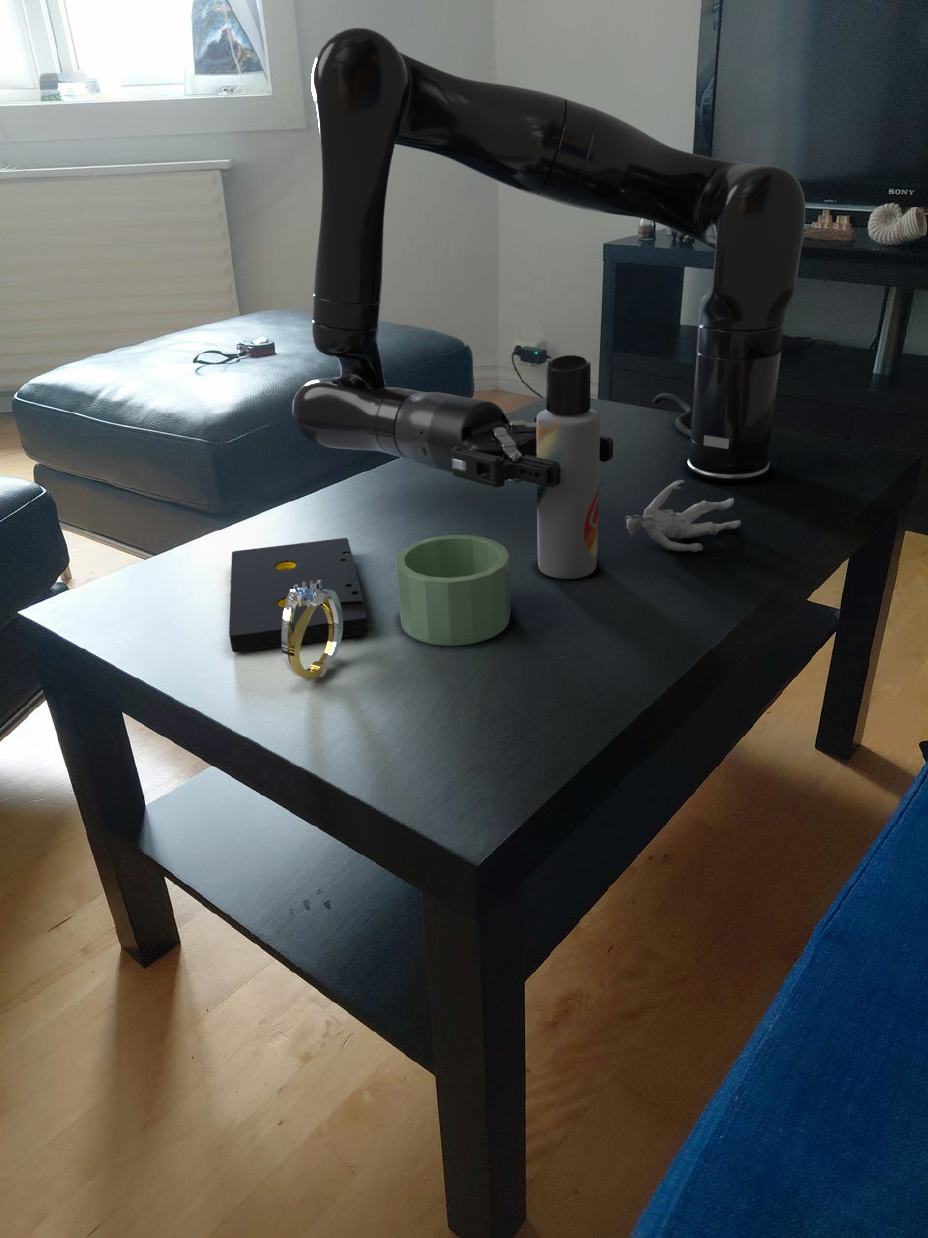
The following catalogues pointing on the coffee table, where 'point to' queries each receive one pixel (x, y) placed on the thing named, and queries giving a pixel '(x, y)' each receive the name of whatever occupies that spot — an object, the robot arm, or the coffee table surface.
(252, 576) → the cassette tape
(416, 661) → the coffee table surface
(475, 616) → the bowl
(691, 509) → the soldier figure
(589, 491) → the lotion bottle
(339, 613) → the ring
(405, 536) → the coffee table surface
